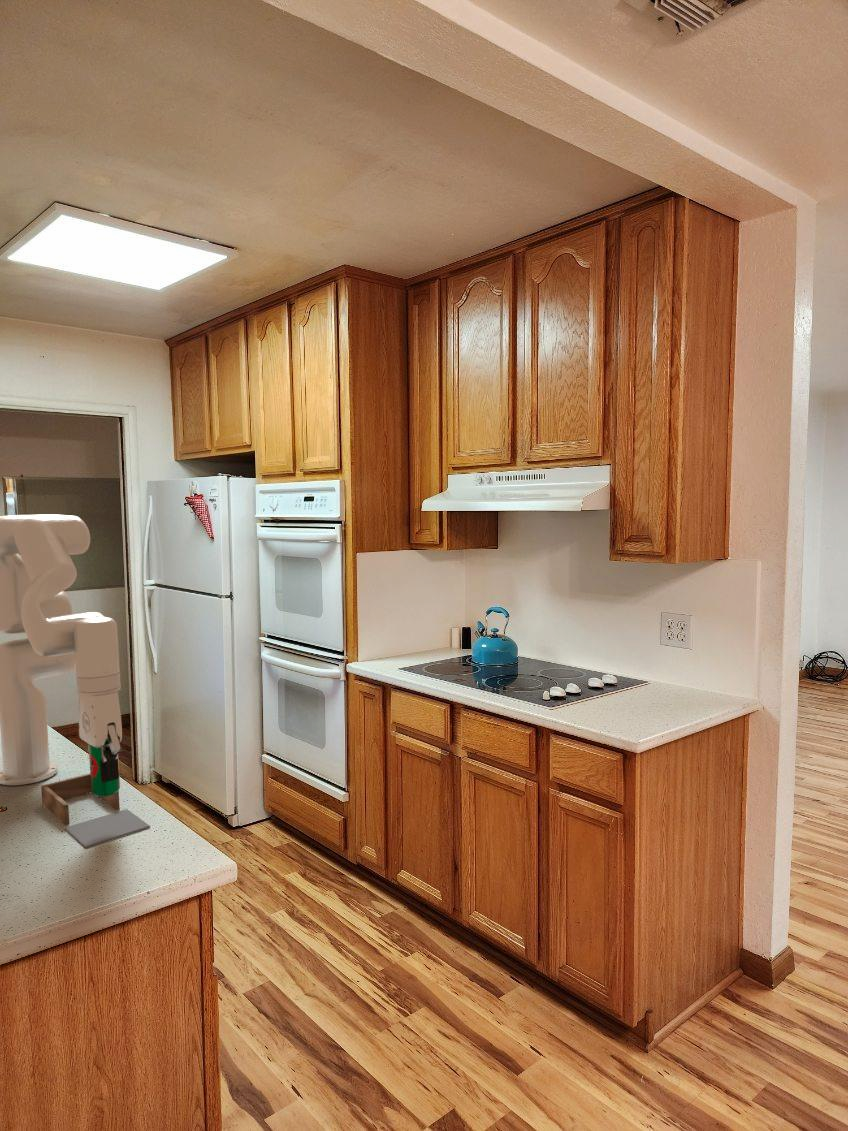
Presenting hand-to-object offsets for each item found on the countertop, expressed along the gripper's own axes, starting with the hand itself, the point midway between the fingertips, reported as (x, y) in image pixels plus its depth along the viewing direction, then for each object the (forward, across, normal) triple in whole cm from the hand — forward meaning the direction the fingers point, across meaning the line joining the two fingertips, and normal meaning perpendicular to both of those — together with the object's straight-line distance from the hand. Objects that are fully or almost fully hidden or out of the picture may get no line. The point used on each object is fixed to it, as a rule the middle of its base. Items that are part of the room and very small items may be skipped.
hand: (104, 775), depth 145 cm
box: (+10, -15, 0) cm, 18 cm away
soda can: (+3, 0, 0) cm, 3 cm away
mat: (+10, 0, 0) cm, 10 cm away
